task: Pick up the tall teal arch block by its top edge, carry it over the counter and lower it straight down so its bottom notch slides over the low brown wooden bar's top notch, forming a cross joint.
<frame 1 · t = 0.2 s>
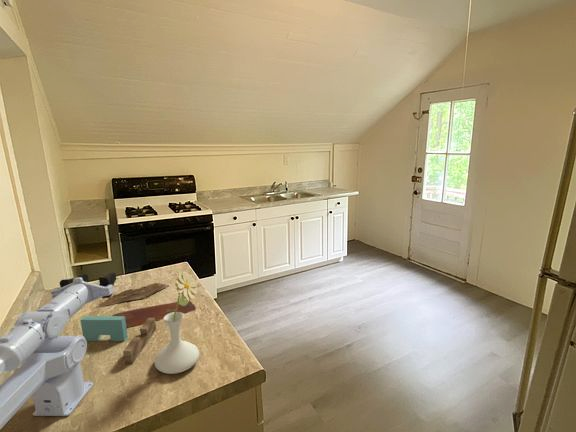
hand: (100, 276, 89), 21 cm above the worktop, tool horizontal, fingers open, 7 cm apart
flower in vase: (180, 361, 87), on the worktop
brown wooden bar: (141, 345, 94), on the worktop
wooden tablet: (155, 315, 111), on the worktop
wooden fragment: (134, 296, 123), on the worktop
teal arch block: (106, 338, 97), on the worktop
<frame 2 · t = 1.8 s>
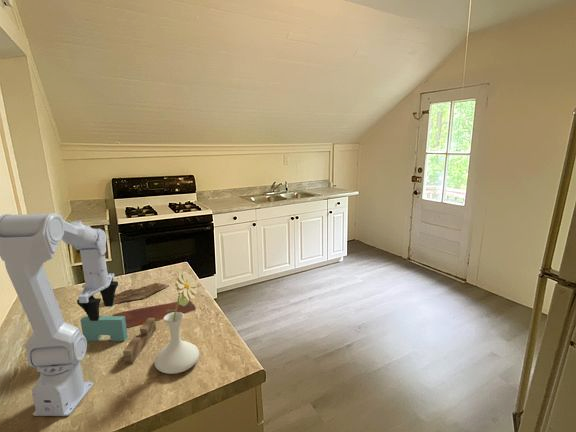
hand: (102, 312, 95), 9 cm above the worktop, tool pointing down, fingers open, 7 cm apart
nothing on the worktop moved.
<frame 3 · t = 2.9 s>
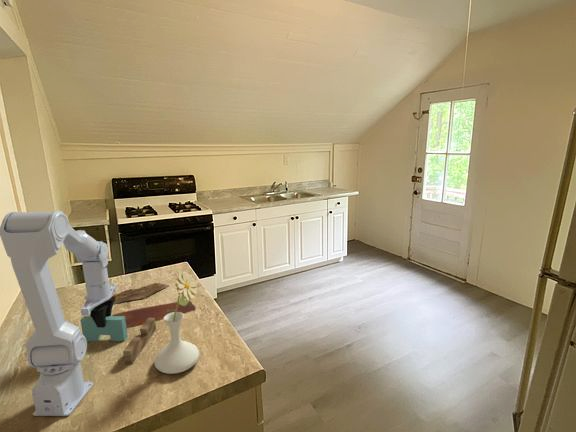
hand: (103, 324, 96), 5 cm above the worktop, tool pointing down, fingers closed on teal arch block, 2 cm apart
teal arch block: (106, 338, 97), on the worktop, touching gripper
everything else where it was.
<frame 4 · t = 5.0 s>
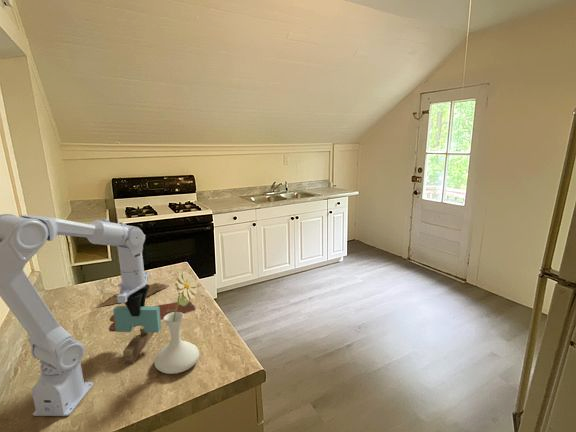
hand: (137, 313, 91), 10 cm above the worktop, tool pointing down, fingers closed on teal arch block
teal arch block: (139, 330, 93), point 5 cm above the worktop, touching gripper
everything else where it was.
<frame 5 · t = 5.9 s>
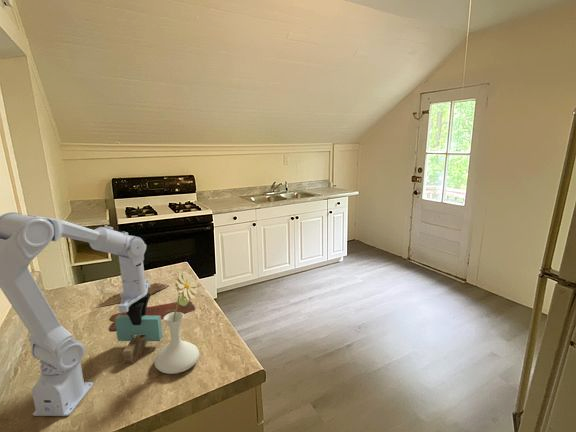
hand: (138, 321, 92), 8 cm above the worktop, tool pointing down, fingers closed on teal arch block, 2 cm apart
teal arch block: (140, 338, 93), point 2 cm above the worktop, touching gripper
everything else where it was.
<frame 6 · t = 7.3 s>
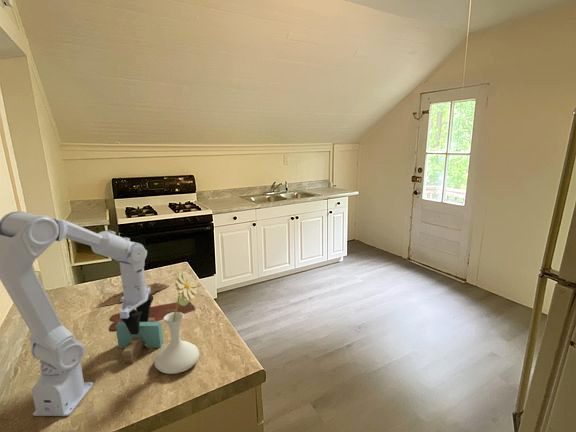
hand: (139, 327, 92), 6 cm above the worktop, tool pointing down, fingers open, 5 cm apart
teal arch block: (141, 345, 94), on the worktop, touching brown wooden bar
everything else where it was.
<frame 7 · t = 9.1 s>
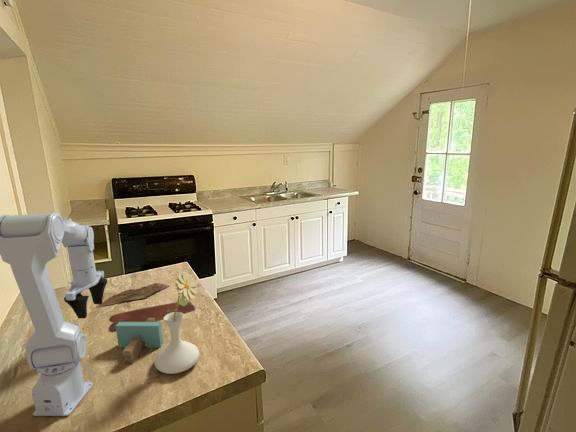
hand: (90, 310, 94), 10 cm above the worktop, tool pointing down, fingers open, 7 cm apart
nothing on the worktop moved.
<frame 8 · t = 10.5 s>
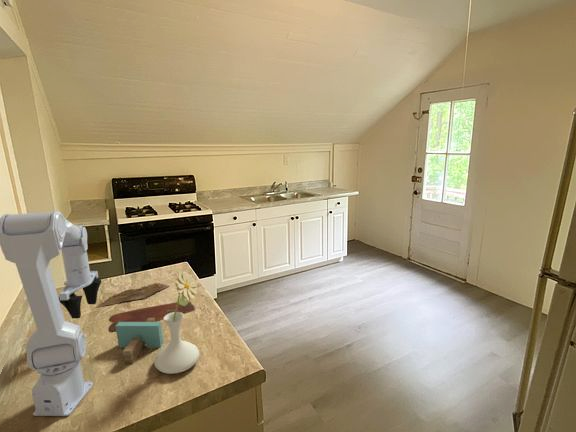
hand: (84, 310, 94), 9 cm above the worktop, tool pointing down, fingers open, 7 cm apart
nothing on the worktop moved.
at the end: teal arch block 0.1 cm off-centre on the brown wooden bar, point 0.0 cm above the brown wooden bar's base; teal arch block tilted 0°; the gripper is holding nothing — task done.
